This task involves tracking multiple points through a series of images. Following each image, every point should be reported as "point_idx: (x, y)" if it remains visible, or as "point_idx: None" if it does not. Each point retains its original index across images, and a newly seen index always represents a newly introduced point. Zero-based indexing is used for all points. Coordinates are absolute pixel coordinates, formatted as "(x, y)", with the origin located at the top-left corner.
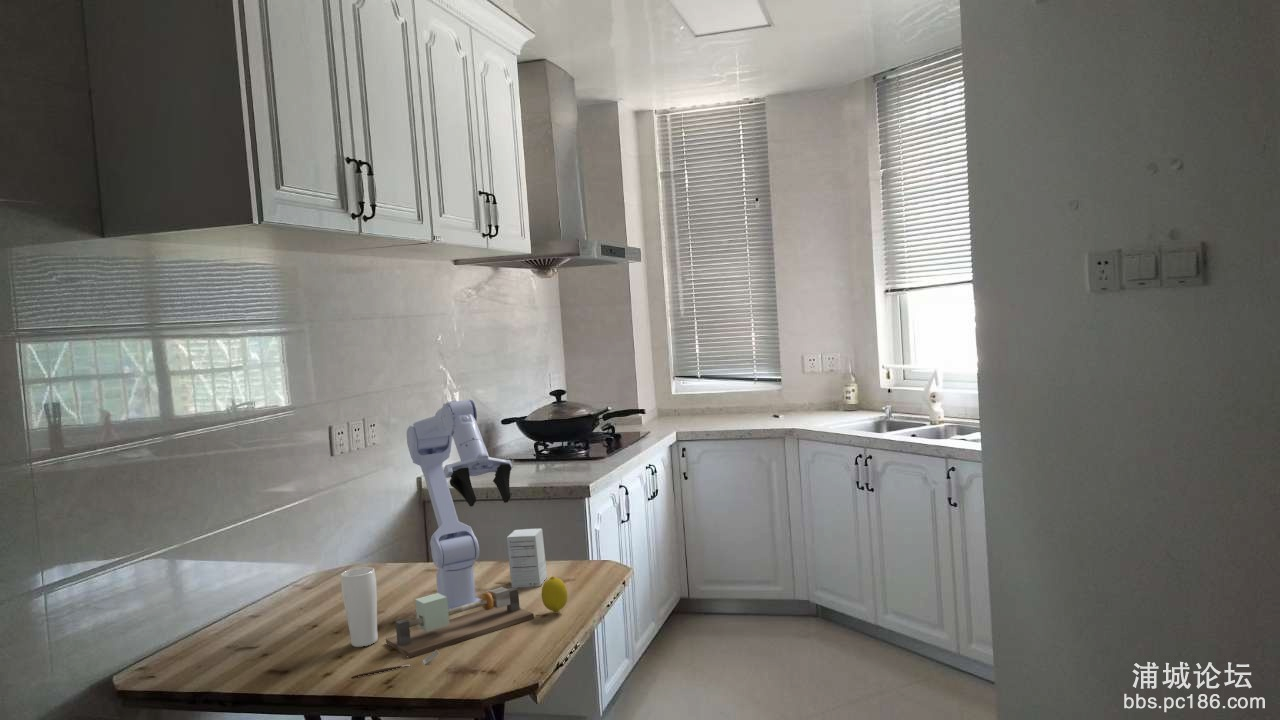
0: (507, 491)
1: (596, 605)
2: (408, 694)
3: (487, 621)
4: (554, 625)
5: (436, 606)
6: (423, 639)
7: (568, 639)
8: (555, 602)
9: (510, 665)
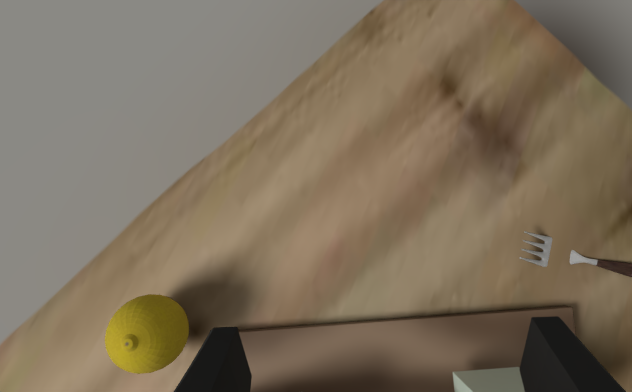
0: (215, 359)
1: (64, 293)
2: (622, 104)
3: (340, 373)
4: (216, 241)
5: (507, 387)
6: None
7: (240, 131)
8: (169, 298)
9: (404, 89)
